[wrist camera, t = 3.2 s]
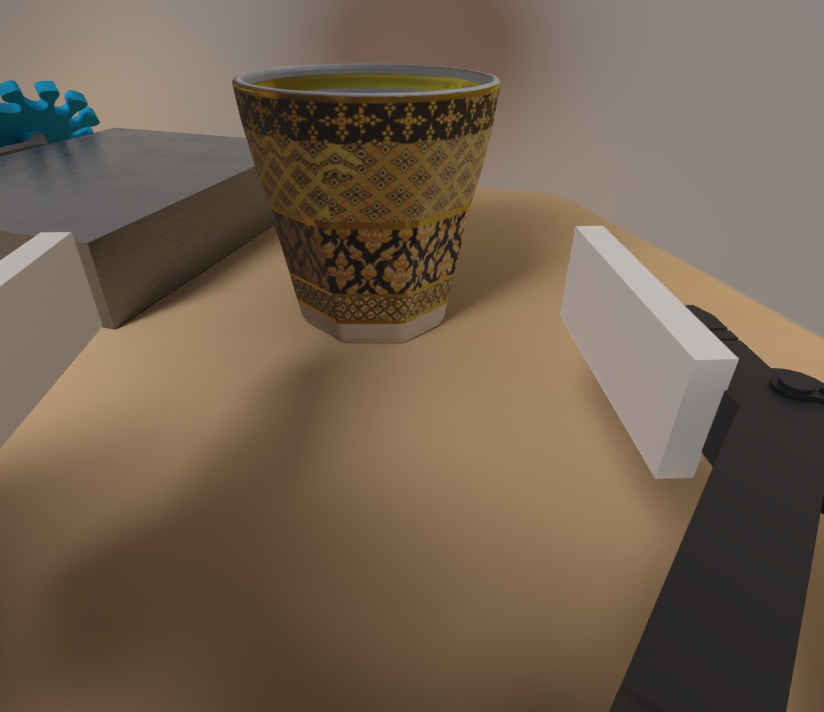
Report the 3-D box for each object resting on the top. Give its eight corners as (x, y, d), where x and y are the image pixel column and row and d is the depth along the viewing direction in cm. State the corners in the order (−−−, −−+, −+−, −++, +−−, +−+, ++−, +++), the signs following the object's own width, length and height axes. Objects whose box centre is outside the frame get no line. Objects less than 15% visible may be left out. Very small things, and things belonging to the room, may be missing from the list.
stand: (-146, 281, 28) (-190, 204, 26) (128, 180, 45) (114, 127, 43) (114, 328, 25) (87, 243, 23) (311, 199, 41) (305, 142, 39)
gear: (102, 141, 49) (77, 59, 40) (131, 198, 49) (113, 128, 40) (-41, 176, 45) (-105, 93, 36) (-9, 240, 45) (-66, 172, 35)
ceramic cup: (523, 310, 27) (553, 77, 21) (366, 399, 21) (353, 104, 15) (347, 239, 34) (337, 55, 29) (195, 289, 28) (146, 67, 23)
